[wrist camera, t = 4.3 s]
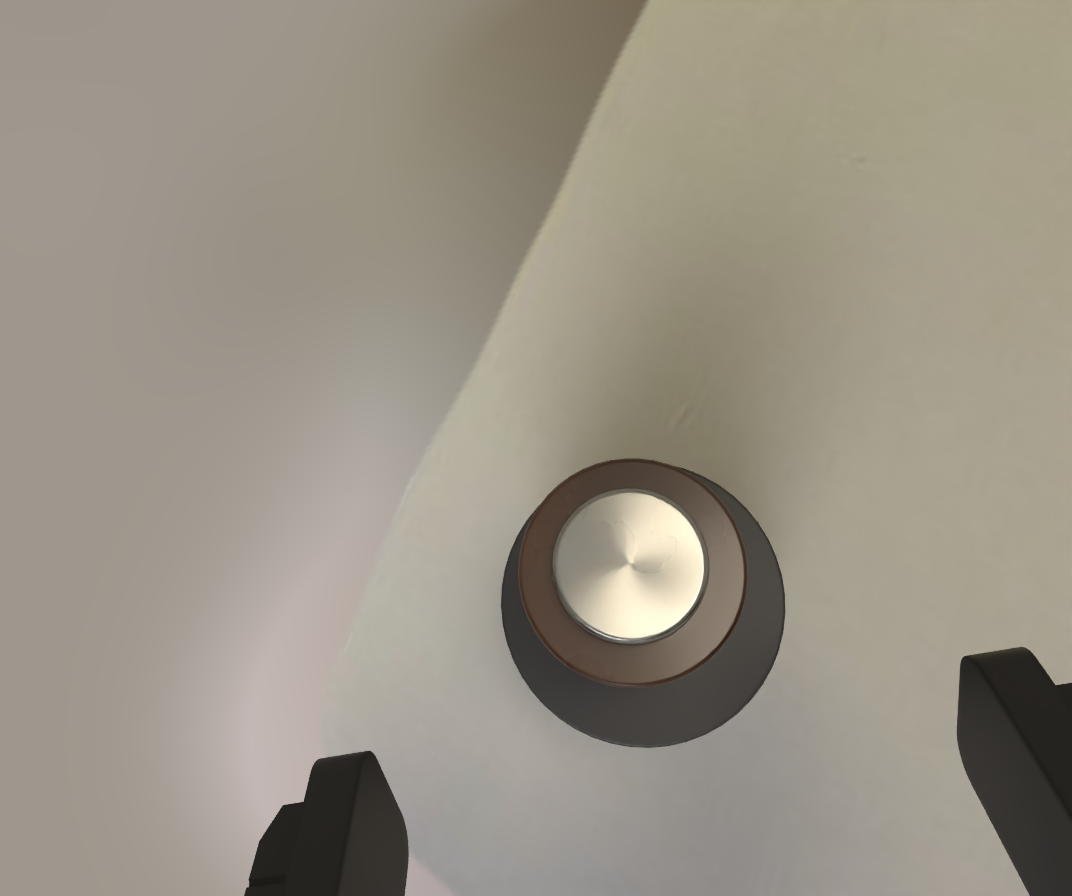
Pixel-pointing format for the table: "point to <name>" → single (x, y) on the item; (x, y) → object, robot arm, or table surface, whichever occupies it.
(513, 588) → the stand
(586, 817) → the table surface
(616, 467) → the pepper mill
